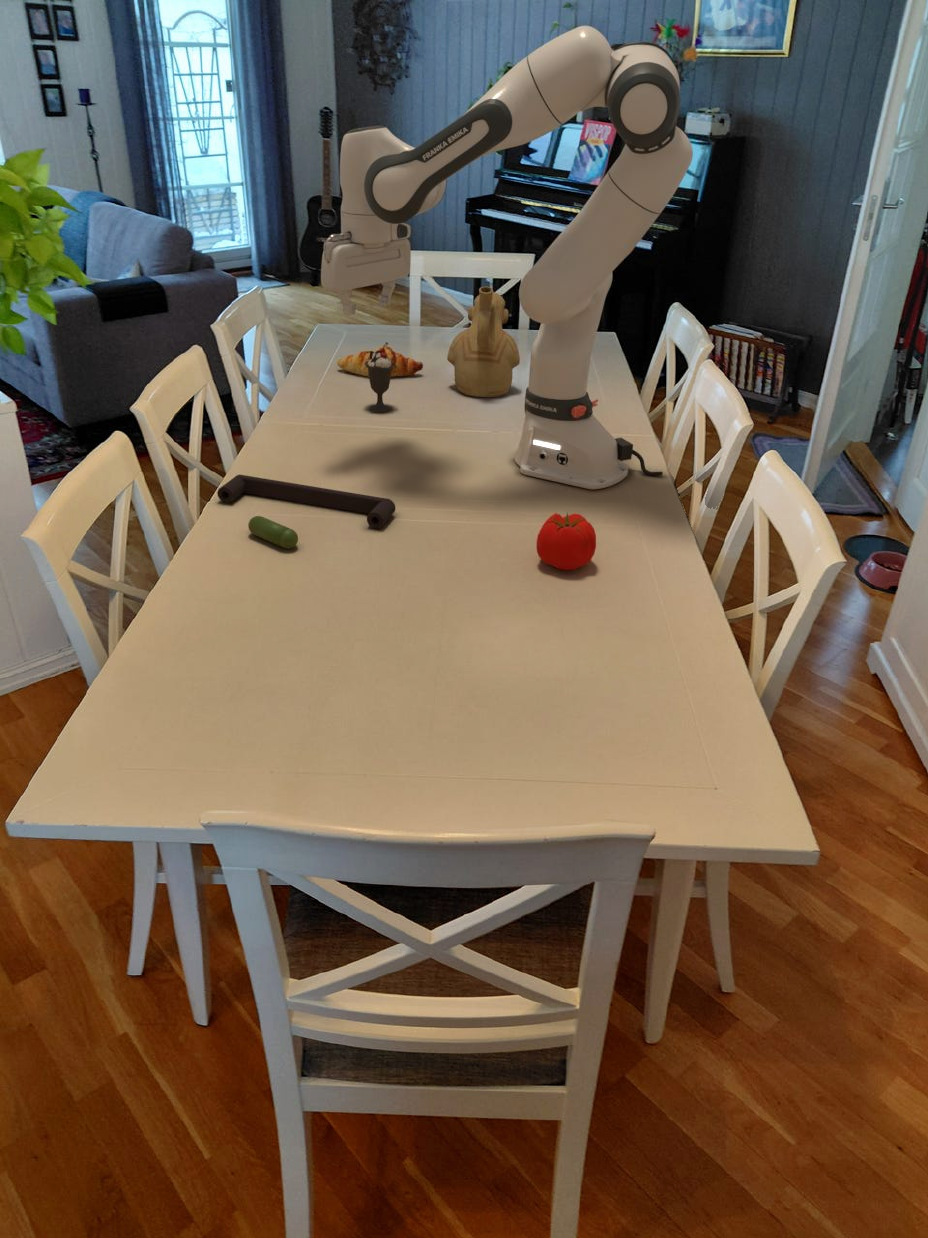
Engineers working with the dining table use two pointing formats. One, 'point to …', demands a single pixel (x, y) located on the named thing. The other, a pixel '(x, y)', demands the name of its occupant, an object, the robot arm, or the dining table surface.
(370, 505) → the handle
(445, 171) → the robot arm
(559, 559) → the tomato
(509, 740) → the dining table surface
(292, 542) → the pickle
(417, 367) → the croissant
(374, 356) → the sundae
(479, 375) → the ceramic vessel
